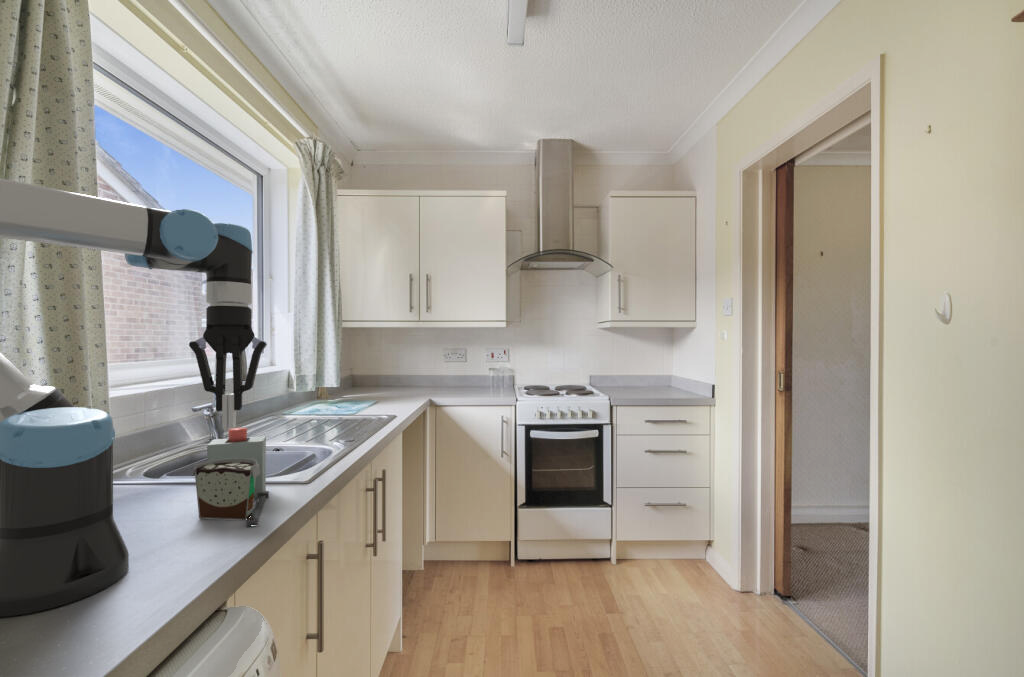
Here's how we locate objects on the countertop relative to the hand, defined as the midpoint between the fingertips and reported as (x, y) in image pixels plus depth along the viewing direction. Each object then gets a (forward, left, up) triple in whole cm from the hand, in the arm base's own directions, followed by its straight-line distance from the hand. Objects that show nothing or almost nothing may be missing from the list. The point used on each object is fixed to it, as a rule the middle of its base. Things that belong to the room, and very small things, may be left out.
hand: (229, 427), depth 91 cm
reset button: (0, +9, -4) cm, 10 cm away
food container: (+1, -1, -17) cm, 17 cm away
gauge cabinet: (0, +9, -16) cm, 19 cm away
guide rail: (+5, -1, -16) cm, 17 cm away
